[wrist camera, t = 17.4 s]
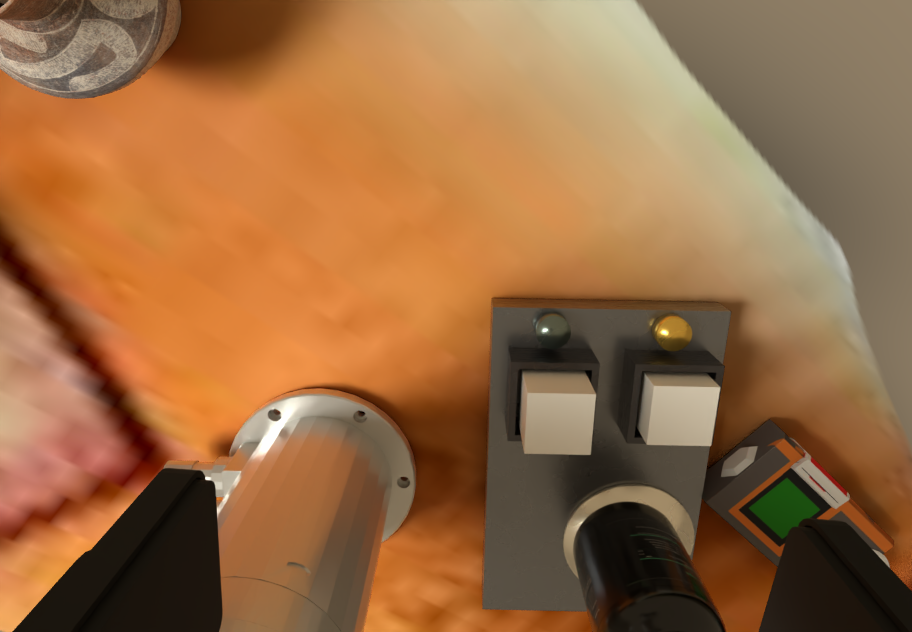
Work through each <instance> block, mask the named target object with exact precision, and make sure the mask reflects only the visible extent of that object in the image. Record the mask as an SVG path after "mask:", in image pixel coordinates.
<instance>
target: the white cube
mask: <svg viewBox="0 0 912 632" xmlns="http://www.w3.org/2000/svg"><path fill="white" fill-rule="evenodd" d="M719 393H720V386H719V385H718V384H717V383H716V382H715V381H714V380H713V379H712V378H711V377H710V376H709V375H708V374H707V373H706V372H664V371H642V375H641V384H640V393H639V401H638V410H637V419H636V427H637V429H638V430H639V432H640V434H641V436H642V437H643V439H644V441H645V443H646V444H647V445H678V446H711V443H712V437H713V431H714V424H715V418H716V412H717V405H718V399H719Z"/></svg>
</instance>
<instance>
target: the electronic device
mask: <svg viewBox="0 0 912 632" xmlns="http://www.w3.org/2000/svg"><path fill="white" fill-rule="evenodd" d="M803 451H804V452H803ZM702 498H703V499H704V501H705V502H706V503H707V504H708V505H709V506H710V507H711V508H712V509H713V510H714V511H716V512H717V513H718V514H719V515H720V516H721V517H722V518H723V519H724V520H726V521H727V522H728V523H729V524H730V525H731V526H732V527H733V528H735V529H736V530H737V531H738V532H739V533H740V534H741V535H742V536H744V537H745V538H746V539H747V540H748V541H749V542H750V543H751V544H752V545H754V546H755V547H756V548H757V549H758V550H759V551H760V552H761V553H763V554H764V555H765V556H766V557H767V558H768V559H769V560H770V561H772V562H773V563H774V564H775V565H776V566H777V567H778V565H779V562H780V558H781V555H782V551H783V548H784V545H785V541H786V538H787V535H788V532H789V530H790V529H791V528H792V527H795V526H796V527H798V525H799V523H800V522H801V521H802V520H803V519H806V518H812V519H825V520H838V521H843V522H846V523H847V524H848V525H850V526H851V527H852V528H853V529H854V530H855V531H856V532H857V534H858V535H859V536H860V537H861V538H862V539H863V540H864V541H865V542H866V543H867V544H868V545H869V546H870V547H871V549H872V550H873V551H874V552H875V553H876V554H877V555H878V556H879V557H880V558H881V559H882V560H883V561H884V562H885V564H886V565H887V566H888V567H889V568H890V566H889V562H888V560H887V559H886V557H885V556H884V555H883V554H884V553H885V552H887V551H888V550H889V549H891V548H892V547H894V540H893V539H892V538H891V537H889V536H888V535H887V534H886V533H885V532H884V531H883V530H882V529H881V528H880V527H879V526H878V525H877V524H876V523H875V522H874V521H873V520H872V519H871V518H870V517H869V516H868V515H867V514H866V513H865V512H864V511H863V510H862V509H861V508H860V507H859V506H858V505H857V504H856V503H855V502H854V501H853V500H852V499H851V498H850V494H849V493H848V492H847V491H846V490H845V489H844V488H843V487H842V486H841V485H840V484H839V483H838V482H837V481H836V480H835V479H834V478H833V477H832V476H831V475H830V474H829V473H828V472H827V471H826V470H825V469H824V468H822V467H821V466H820V465H819V464H818V463H817V462H816V461H815V460H814V459H813V458H812V457H811V456H810V455H809V454H808V453H807V452H806V451H805V450H804V449H803V448H802V447H801V446H800V445H799V444H798V443H797V442H796V441H795V440H794V439H793V438H791V437H788V436H787V435H786V434H785V433H784V432H783V431H782V430H781V429H780V428H779V427H778V426H777V425H776V424H774V423H773V422H772V421H771V420H770V419H769V420H768V421H767V422H765V423H764V424H763V425H762V426H760V427H759V428H758V429H757V430H756V431H754V432H753V433H752V434H751V435H750V436H748V437H747V438H746V439H745V440H744V441H742V442H741V443H740V444H739V445H737V446H736V447H735V448H734V449H733V450H731V451H730V452H729V453H728V454H727V455H725V456H724V457H723V458H722V459H721V460H719V461H718V462H717V463H716V464H714V465H713V466H712V467H711V468H710V469H708V470H707V471H706V475H705V481H704V488H703V494H702Z"/></svg>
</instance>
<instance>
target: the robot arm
mask: <svg viewBox="0 0 912 632" xmlns="http://www.w3.org/2000/svg"><path fill="white" fill-rule="evenodd" d="M276 409H277V410H279V411H280V412H277V411H276ZM359 411H363V412H365V413H363V414H362V413H360V412H359ZM416 472H417V471H416V465H415V459H414V455H413V452H412V450H411V447H410V445H409V442H408V440H407V438H406V437H405V435H404V434H403V432H402V431H401V429H400V428H399V426H398V425H397V424H396V423H395V422H394V421H393V420H392V419H391V418H390V417H389V416H388V415H387V414H386V413H385V412H383V411H382V410H381V409H379V408H378V407H376V406H375V405H374V404H372V403H370V402H368V401H366V400H364V399H362V398H360V397H358V396H356V395H353V394H349V393H346V392H342V391H339V390H331V389H322V388H315V389H301V390H297V391H293V392H289V393H285V394H283V395H280V396H278V397H276V398H274V399H272V400H270V401H268V402H267V403H265V404H264V405H262V406H261V407H260V408H258V409H257V410H256V411H255V412H254V413H253V414H252V415H251V416H250V417H249V418H248V420H247V421H246V422H245V423H244V424H243V426H242V427H241V429H240V430H239V432H238V433H237V435H236V436H235V439H234V441H233V444H232V446H231V449H230V451H229V457H219V458H217V459H216V461H215V462H199V461H182V460H170V461H168V462H167V463H166V464H165V466H164V468H163V470H162V471H160V472H159V473H158V475H157V476H156V477H155V478H154V479H153V480H152V481H151V482H150V484H149V485H148V486H147V487H146V488H145V489H144V490H143V492H142V493H141V494H140V495H139V496H138V497H137V498H136V499H135V501H134V502H133V503H132V504H131V505H130V506H129V507H128V509H127V510H126V511H125V512H124V513H123V514H122V515H121V516H120V518H119V519H118V520H117V521H116V522H115V523H114V524H113V526H112V527H111V528H110V529H109V530H108V531H107V532H106V533H105V535H104V536H103V537H102V538H101V539H100V540H99V541H98V543H97V544H96V545H95V546H94V547H93V548H92V549H91V550H89V551H87V552H85V553H84V554H83V555H82V556H81V557H79V558H78V559H77V560H76V561H75V563H74V564H73V565H72V566H71V567H70V568H69V569H68V570H67V571H66V573H65V574H64V575H63V576H62V577H61V578H60V579H59V580H58V582H57V583H56V584H55V585H54V586H53V587H52V588H51V589H50V590H49V592H48V593H47V594H46V595H45V596H44V597H43V598H42V599H41V601H40V602H39V603H38V604H37V605H36V606H35V607H34V608H33V609H32V611H31V612H30V613H29V614H28V615H27V616H26V617H25V618H24V620H23V621H22V622H21V623H20V624H19V625H18V626H17V627H16V629H15V630H14V631H13V632H363V631H364V626H365V621H366V616H367V612H368V607H369V602H370V597H371V592H372V587H373V582H374V577H375V572H376V567H377V562H378V557H379V552H380V547H381V543H382V542H384V541H385V540H387V539H388V538H389V537H390V536H391V535H392V534H393V533H394V532H395V531H396V530H397V529H398V528H399V527H400V526H401V524H402V523H403V521H404V520H405V518H406V517H407V515H408V513H409V510H410V508H411V505H412V503H413V499H414V494H415V488H416ZM404 477H406V478H404ZM216 497H224V498H223V500H216ZM759 632H912V591H911V590H910V589H909V588H908V587H907V586H906V585H905V584H904V583H903V582H902V581H901V580H900V579H899V577H898V576H897V575H896V574H895V573H894V572H893V571H892V570H891V569H890V568H889V567H888V566H887V565H886V564H885V562H884V561H883V560H882V559H881V558H880V557H879V556H878V555H877V554H876V553H875V552H874V551H873V550H872V549H871V547H870V546H869V545H868V544H867V543H866V542H865V541H864V540H863V539H862V538H861V537H860V536H859V535H858V534H857V532H856V531H855V530H854V529H853V528H852V527H851V526H850V525H848V524H847V523H846V522H843V521H838V520H825V519H812V518H806V519H803V520H802V521H801V522H800V523H799V525H798V527H796V526H795V527H792V528H791V529H790V530H789V532H788V535H787V538H786V541H785V545H784V548H783V551H782V555H781V558H780V562H779V565H778V568H777V572H776V575H775V578H774V582H773V585H772V589H771V592H770V595H769V599H768V602H767V605H766V609H765V612H764V616H763V619H762V622H761V626H760V629H759Z"/></svg>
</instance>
